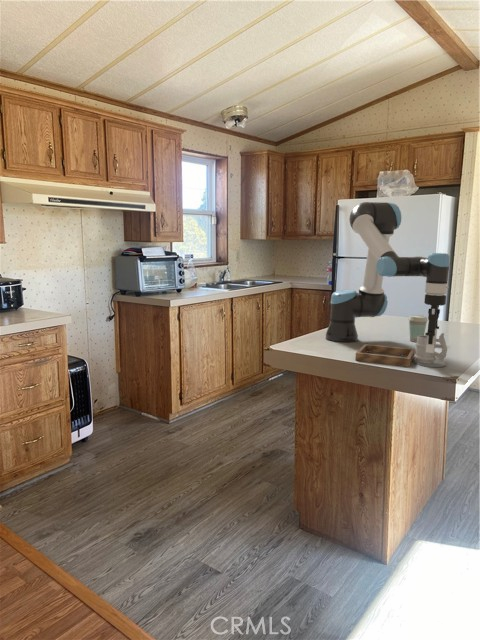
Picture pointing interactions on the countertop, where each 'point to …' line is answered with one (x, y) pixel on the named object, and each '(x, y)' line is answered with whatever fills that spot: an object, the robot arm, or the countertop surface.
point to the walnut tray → (384, 359)
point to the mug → (425, 356)
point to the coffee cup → (417, 326)
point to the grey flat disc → (433, 364)
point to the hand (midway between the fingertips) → (430, 348)
